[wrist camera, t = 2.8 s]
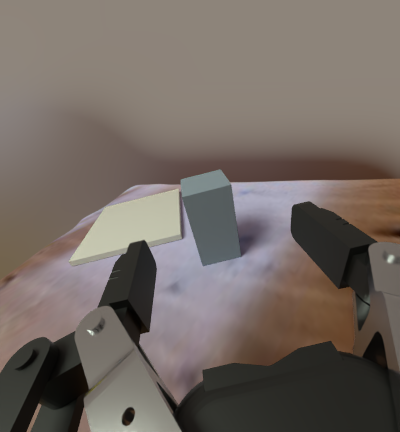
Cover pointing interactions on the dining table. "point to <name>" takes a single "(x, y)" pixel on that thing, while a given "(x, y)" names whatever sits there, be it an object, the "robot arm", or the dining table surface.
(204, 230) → the slate block
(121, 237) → the cream tile
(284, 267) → the dining table surface
